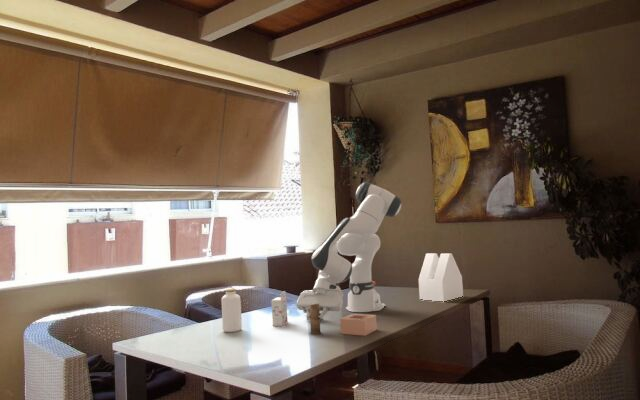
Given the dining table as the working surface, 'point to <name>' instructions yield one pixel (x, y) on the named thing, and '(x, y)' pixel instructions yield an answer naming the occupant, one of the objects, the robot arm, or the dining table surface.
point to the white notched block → (440, 278)
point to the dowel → (314, 318)
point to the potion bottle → (231, 311)
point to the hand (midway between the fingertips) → (314, 318)
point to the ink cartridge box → (279, 310)
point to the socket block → (358, 324)
